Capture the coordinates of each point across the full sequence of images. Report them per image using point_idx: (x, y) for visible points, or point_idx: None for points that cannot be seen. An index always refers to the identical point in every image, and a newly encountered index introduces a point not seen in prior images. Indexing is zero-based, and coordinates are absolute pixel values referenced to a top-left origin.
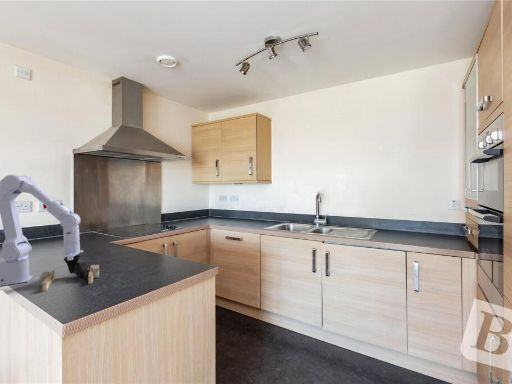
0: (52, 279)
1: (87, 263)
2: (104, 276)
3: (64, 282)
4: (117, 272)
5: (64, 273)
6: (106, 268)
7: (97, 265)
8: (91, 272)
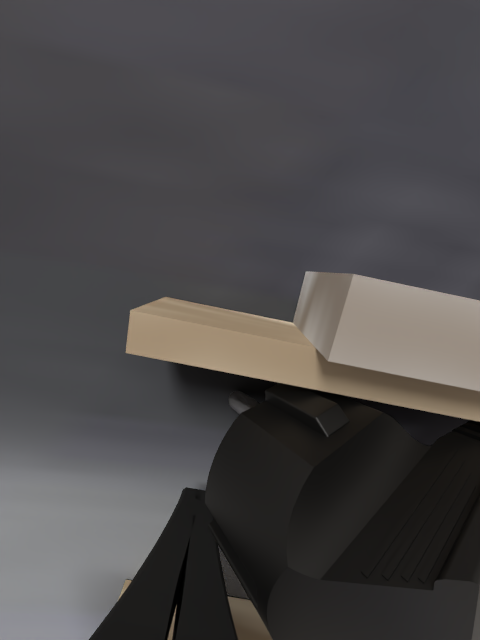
0: (248, 622)
1: (315, 485)
2: (474, 243)
3: None
4: (446, 59)
5: (54, 522)
6: (130, 149)
7: (402, 306)
8: None
